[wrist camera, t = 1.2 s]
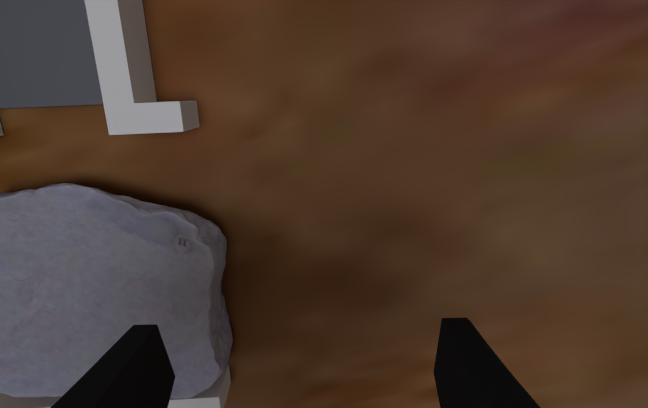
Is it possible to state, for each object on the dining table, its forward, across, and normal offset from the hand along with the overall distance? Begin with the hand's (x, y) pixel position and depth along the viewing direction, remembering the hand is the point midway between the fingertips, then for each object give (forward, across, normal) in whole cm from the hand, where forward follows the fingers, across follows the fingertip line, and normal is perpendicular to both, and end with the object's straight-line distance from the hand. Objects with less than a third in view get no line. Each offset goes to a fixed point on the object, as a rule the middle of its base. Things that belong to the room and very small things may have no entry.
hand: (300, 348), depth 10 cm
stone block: (+9, +10, +5) cm, 15 cm away
